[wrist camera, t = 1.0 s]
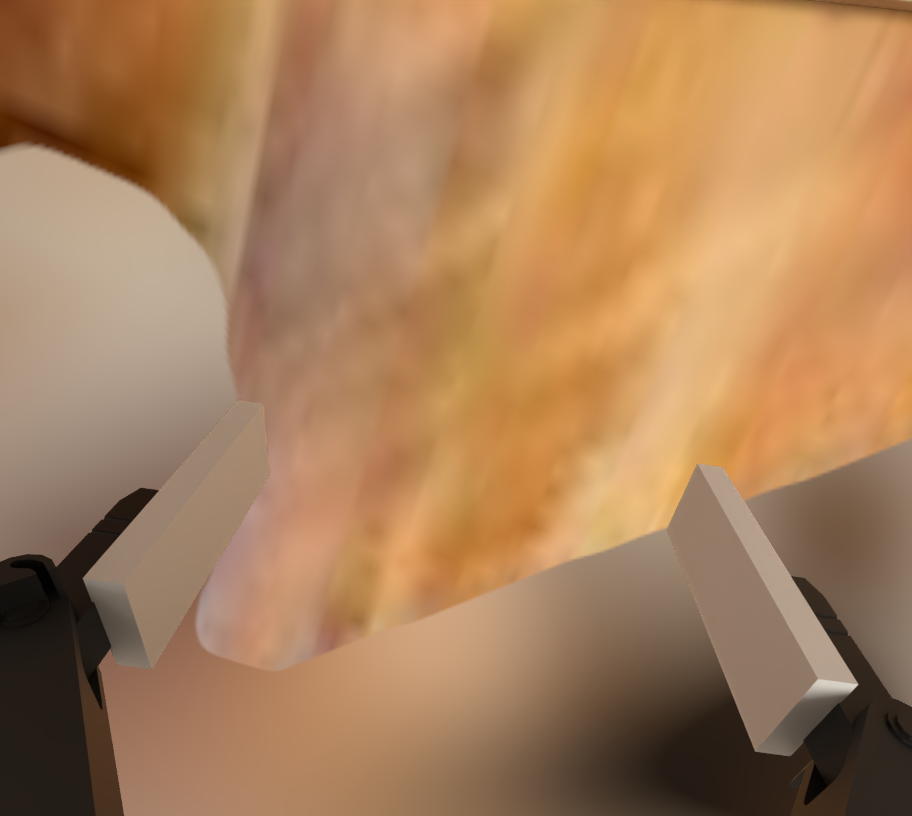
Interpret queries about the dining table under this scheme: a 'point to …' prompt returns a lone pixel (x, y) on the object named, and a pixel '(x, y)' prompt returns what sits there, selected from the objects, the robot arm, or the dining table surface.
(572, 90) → the dining table surface
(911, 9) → the ledge
